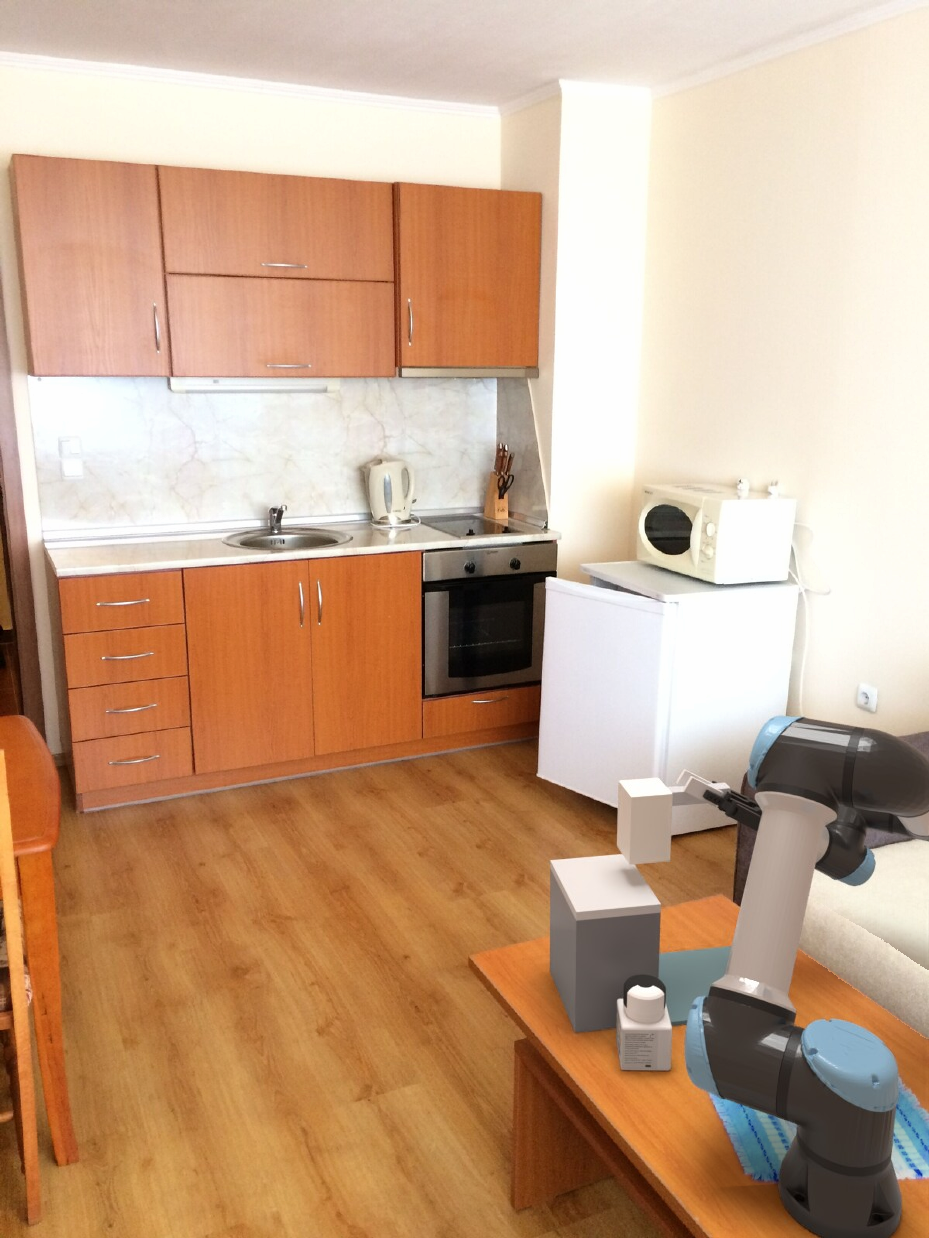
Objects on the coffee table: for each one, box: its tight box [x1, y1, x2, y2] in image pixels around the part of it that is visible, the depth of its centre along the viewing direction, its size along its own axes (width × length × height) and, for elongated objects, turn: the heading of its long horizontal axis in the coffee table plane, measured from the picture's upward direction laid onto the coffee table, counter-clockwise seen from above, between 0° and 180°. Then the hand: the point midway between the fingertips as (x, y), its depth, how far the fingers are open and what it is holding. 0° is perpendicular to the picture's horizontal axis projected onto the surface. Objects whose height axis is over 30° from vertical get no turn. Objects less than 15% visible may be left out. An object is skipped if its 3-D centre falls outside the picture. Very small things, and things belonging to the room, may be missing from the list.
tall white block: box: [616, 777, 732, 865], centre depth 175 cm, size 18×7×12 cm, turn 99°
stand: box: [549, 853, 662, 1034], centre depth 177 cm, size 14×18×22 cm
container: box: [615, 974, 673, 1072], centre depth 163 cm, size 8×8×13 cm
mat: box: [659, 945, 732, 1027], centre depth 183 cm, size 20×20×1 cm
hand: (684, 779), depth 173 cm, fingers closed on tall white block, 2 cm apart
